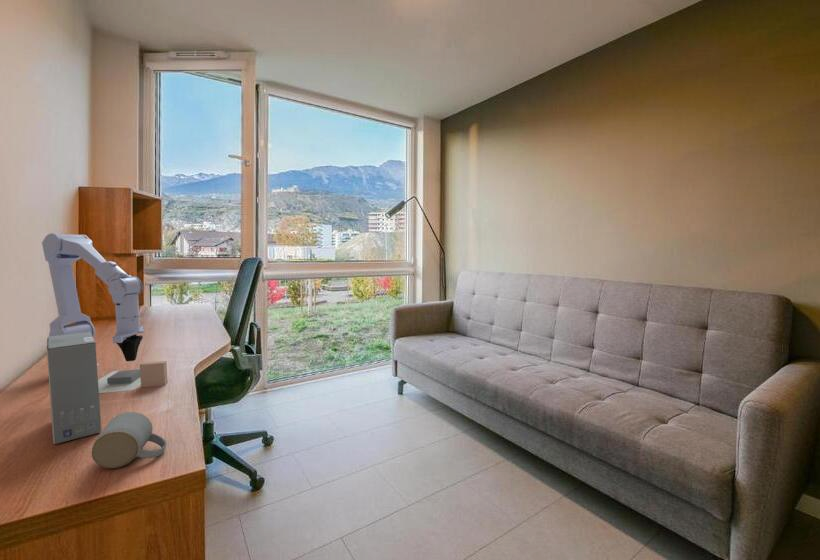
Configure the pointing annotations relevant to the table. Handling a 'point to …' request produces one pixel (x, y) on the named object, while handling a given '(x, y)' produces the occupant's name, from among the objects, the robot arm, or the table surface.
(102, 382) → the felt mat
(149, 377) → the plain tile
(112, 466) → the ceramic mug
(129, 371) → the glazed tile
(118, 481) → the table surface
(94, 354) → the hard drive box
